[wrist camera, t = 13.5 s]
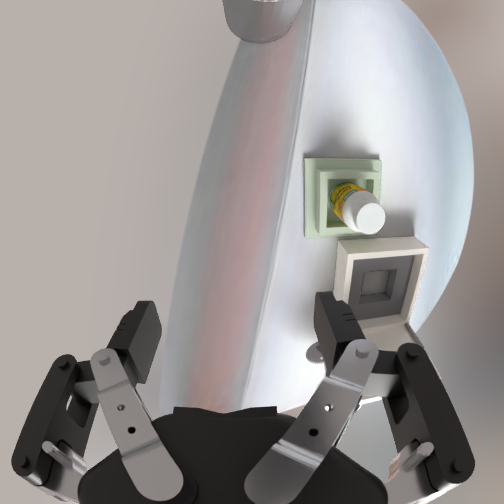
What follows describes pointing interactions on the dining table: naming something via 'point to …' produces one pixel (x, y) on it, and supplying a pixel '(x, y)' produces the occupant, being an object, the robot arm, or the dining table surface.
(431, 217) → the dining table surface
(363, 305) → the case
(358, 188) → the supplement bottle
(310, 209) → the sage holder
